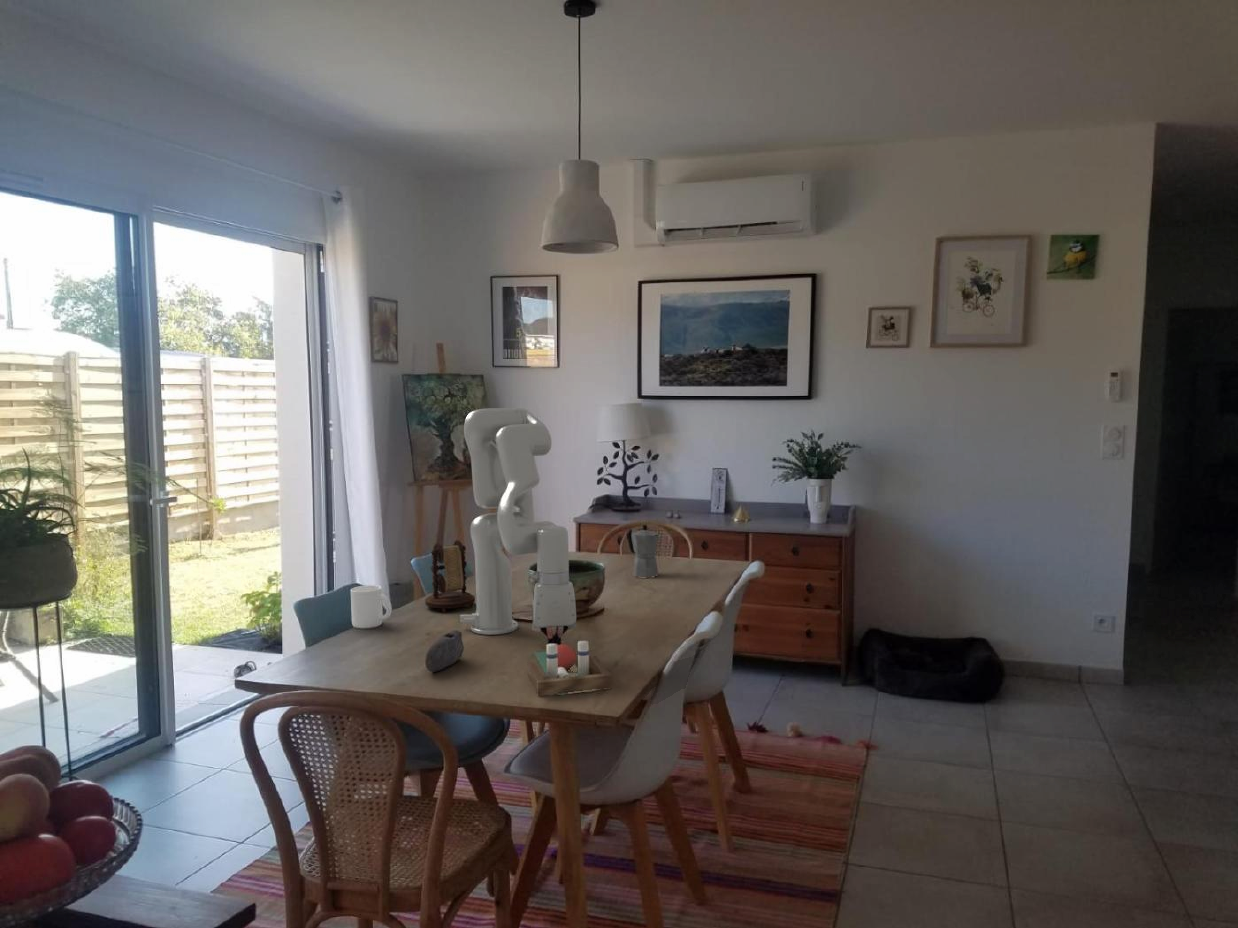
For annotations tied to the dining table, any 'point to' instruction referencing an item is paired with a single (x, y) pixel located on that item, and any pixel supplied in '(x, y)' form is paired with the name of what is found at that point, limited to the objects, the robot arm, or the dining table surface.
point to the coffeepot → (643, 551)
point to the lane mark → (543, 661)
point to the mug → (368, 606)
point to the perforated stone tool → (444, 651)
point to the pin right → (583, 658)
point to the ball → (566, 656)
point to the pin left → (552, 661)
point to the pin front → (562, 673)
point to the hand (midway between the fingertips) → (554, 652)
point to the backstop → (571, 680)
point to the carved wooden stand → (449, 578)
